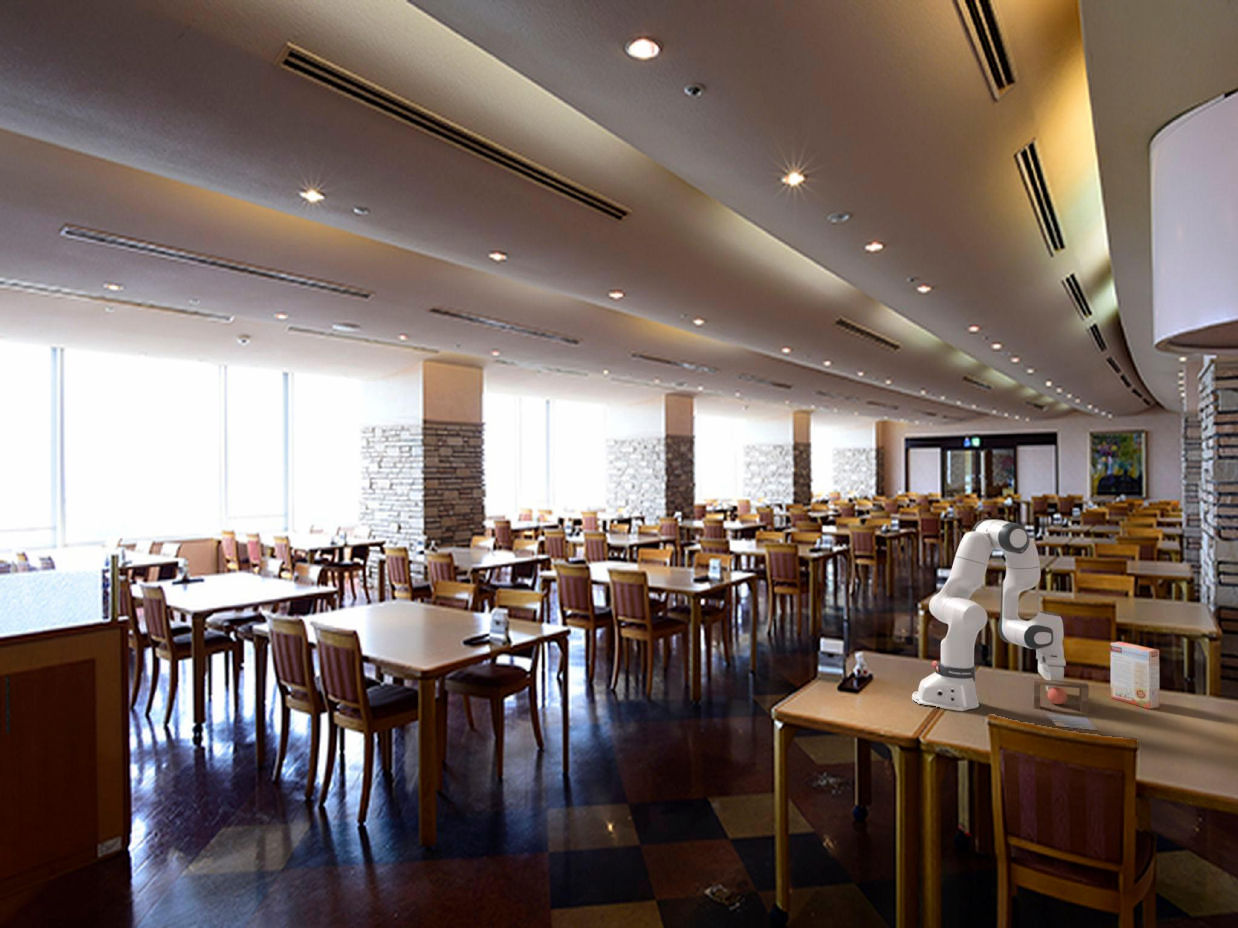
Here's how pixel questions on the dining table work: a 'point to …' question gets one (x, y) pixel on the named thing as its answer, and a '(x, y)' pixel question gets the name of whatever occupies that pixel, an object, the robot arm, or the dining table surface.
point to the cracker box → (1135, 674)
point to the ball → (1057, 695)
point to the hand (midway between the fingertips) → (1049, 691)
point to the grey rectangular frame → (1082, 686)
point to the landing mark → (1072, 721)
